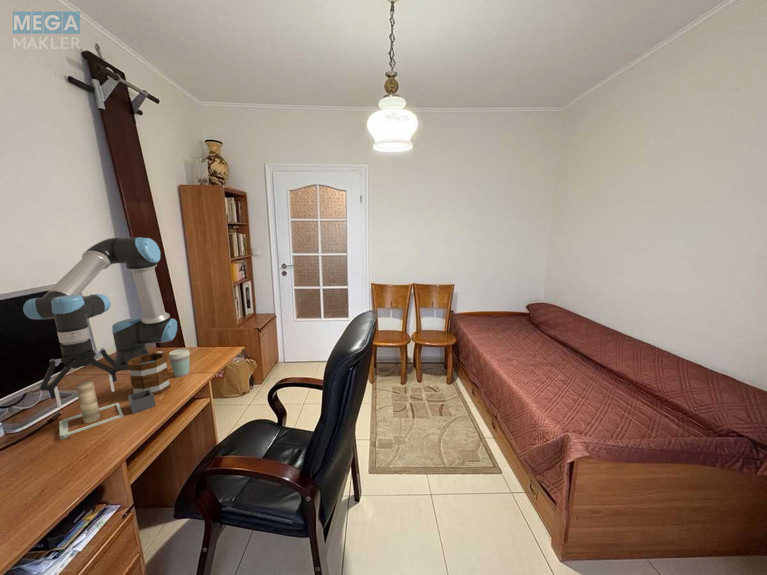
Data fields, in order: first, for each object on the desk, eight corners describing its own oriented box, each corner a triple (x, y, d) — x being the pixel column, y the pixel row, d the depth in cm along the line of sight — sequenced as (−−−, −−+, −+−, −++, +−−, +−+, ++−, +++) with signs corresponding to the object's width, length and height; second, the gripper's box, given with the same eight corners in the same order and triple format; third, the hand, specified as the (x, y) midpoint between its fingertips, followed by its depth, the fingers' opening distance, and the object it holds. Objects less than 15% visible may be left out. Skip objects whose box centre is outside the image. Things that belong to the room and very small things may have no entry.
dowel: (83, 420, 109) (75, 384, 107) (99, 414, 113) (92, 379, 110) (84, 425, 106) (76, 388, 104) (101, 419, 110) (93, 383, 107)
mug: (164, 397, 125) (159, 363, 122) (125, 402, 121) (119, 367, 118) (181, 375, 143) (177, 345, 141) (148, 379, 140) (143, 348, 137)
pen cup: (130, 408, 117) (127, 395, 116) (151, 401, 122) (149, 388, 121) (133, 415, 113) (130, 402, 112) (155, 408, 117) (153, 395, 116)
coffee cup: (196, 371, 147) (193, 348, 145) (183, 380, 139) (180, 355, 137) (180, 371, 148) (177, 347, 146) (166, 379, 140) (162, 355, 138)
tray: (60, 424, 108) (59, 421, 108) (118, 405, 119) (118, 402, 119) (60, 440, 100) (59, 436, 100) (123, 418, 111) (123, 414, 111)
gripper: (18, 354, 92) (34, 418, 96) (124, 334, 110) (134, 388, 114) (20, 348, 97) (34, 408, 101) (121, 329, 115) (130, 381, 119)
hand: (87, 397), depth 108 cm, fingers open, 13 cm apart
